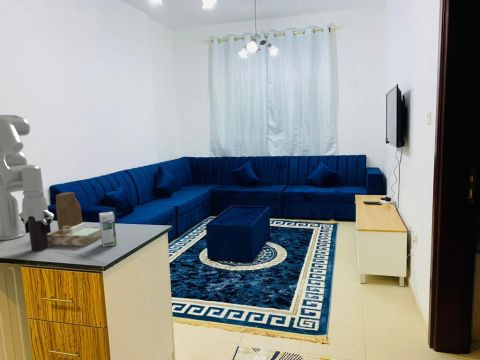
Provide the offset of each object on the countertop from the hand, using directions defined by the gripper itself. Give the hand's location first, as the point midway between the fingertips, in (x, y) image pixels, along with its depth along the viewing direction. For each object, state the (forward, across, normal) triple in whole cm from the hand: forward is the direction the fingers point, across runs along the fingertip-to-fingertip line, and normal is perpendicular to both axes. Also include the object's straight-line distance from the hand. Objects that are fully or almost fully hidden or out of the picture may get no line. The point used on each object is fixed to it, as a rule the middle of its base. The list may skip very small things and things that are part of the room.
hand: (38, 232), depth 163 cm
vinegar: (+8, 0, 0) cm, 8 cm away
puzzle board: (+7, +7, +13) cm, 16 cm away
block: (+7, -6, +28) cm, 30 cm away
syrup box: (+8, +28, +10) cm, 31 cm away
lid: (+4, +13, +13) cm, 19 cm away
